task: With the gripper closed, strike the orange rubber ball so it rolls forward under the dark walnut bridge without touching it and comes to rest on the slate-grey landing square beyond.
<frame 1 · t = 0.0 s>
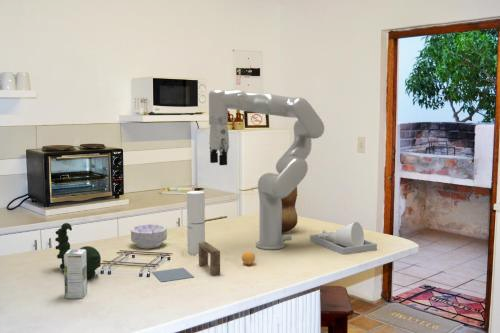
hand: (218, 163, 217), 37 cm above the worktop, tool pointing down, fingers open, 9 cm apart
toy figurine: (79, 275, 193), on the worktop
syrup box: (76, 296, 171), on the worktop
bridge: (209, 269, 198), on the worktop
ball: (248, 257, 204), on the worktop
grey rimmed tray: (342, 245, 233), on the worktop
paper bowls: (149, 246, 232), on the worktop
cylindrical container: (196, 252, 222), on the worktop
brown vase: (283, 232, 258), on the worktop
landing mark: (172, 274, 192), on the worktop
rocket engine: (342, 245, 233), resting in grey rimmed tray
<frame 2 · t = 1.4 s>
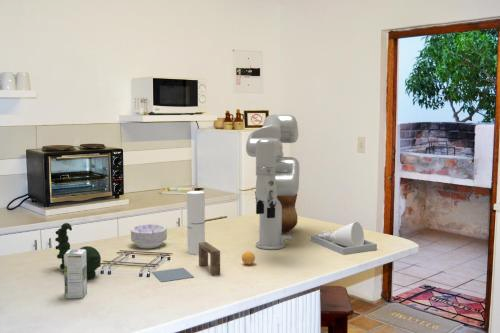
hand: (265, 215, 207), 18 cm above the worktop, tool pointing down, fingers open, 9 cm apart
nothing on the worktop moved.
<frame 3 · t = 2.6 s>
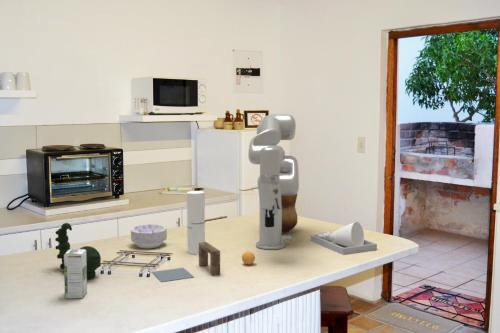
hand: (269, 226, 207), 14 cm above the worktop, tool pointing down, fingers closed
nothing on the worktop moved.
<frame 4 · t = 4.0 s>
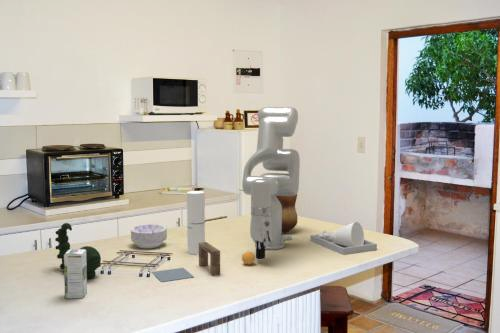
hand: (260, 258, 206), 2 cm above the worktop, tool pointing down, fingers closed
nothing on the worktop moved.
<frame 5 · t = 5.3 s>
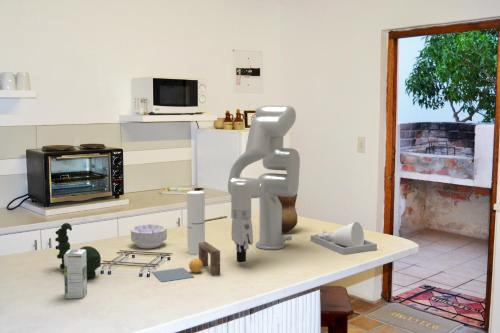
hand: (241, 261, 203), 2 cm above the worktop, tool pointing down, fingers closed
ball: (195, 265, 195), on the worktop
everything else where it was.
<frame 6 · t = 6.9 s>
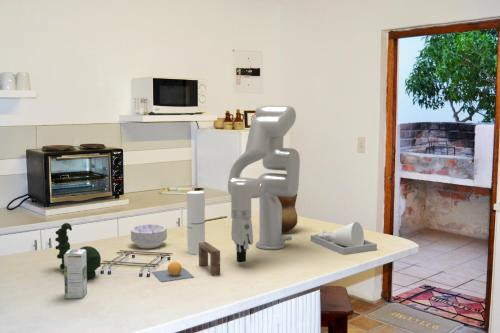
hand: (241, 261, 203), 2 cm above the worktop, tool pointing down, fingers closed
ball: (174, 268, 191), resting on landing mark
everything else where it was.
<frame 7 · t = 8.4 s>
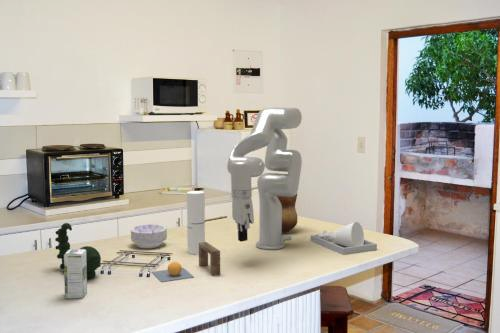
hand: (242, 240, 204), 9 cm above the worktop, tool pointing down, fingers closed
nothing on the worktop moved.
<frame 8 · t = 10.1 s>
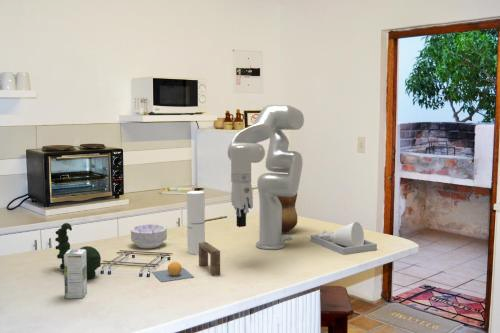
hand: (241, 226, 202), 15 cm above the worktop, tool pointing down, fingers closed
nothing on the worktop moved.
at the end: ball 1.1 cm from the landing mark (horizontally); ball never touched bridge; ball at rest at the end (0.0 cm/s) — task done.
